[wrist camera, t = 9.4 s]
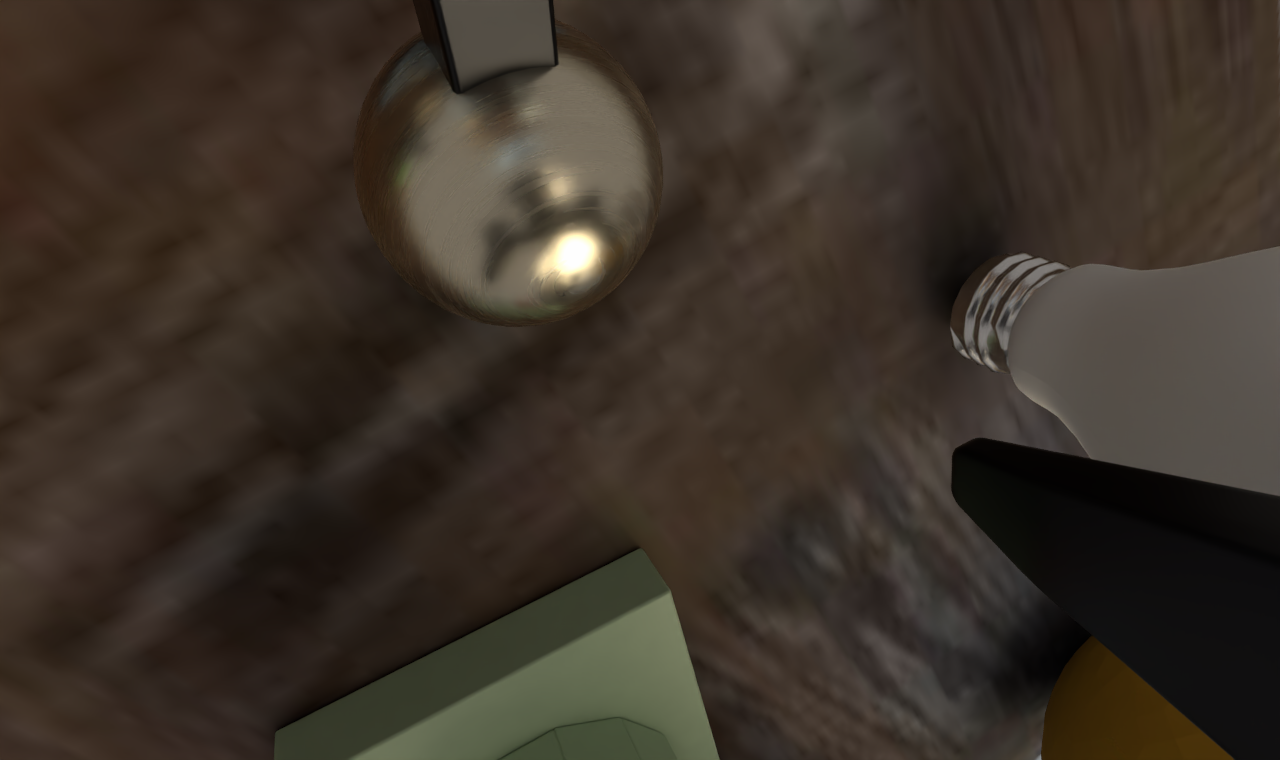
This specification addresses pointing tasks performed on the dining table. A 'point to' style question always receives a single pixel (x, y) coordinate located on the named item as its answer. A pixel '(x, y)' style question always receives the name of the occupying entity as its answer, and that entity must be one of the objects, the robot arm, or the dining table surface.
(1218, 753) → the emoji
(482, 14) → the switch lever
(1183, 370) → the light bulb
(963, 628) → the dining table surface
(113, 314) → the dining table surface
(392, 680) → the button box
